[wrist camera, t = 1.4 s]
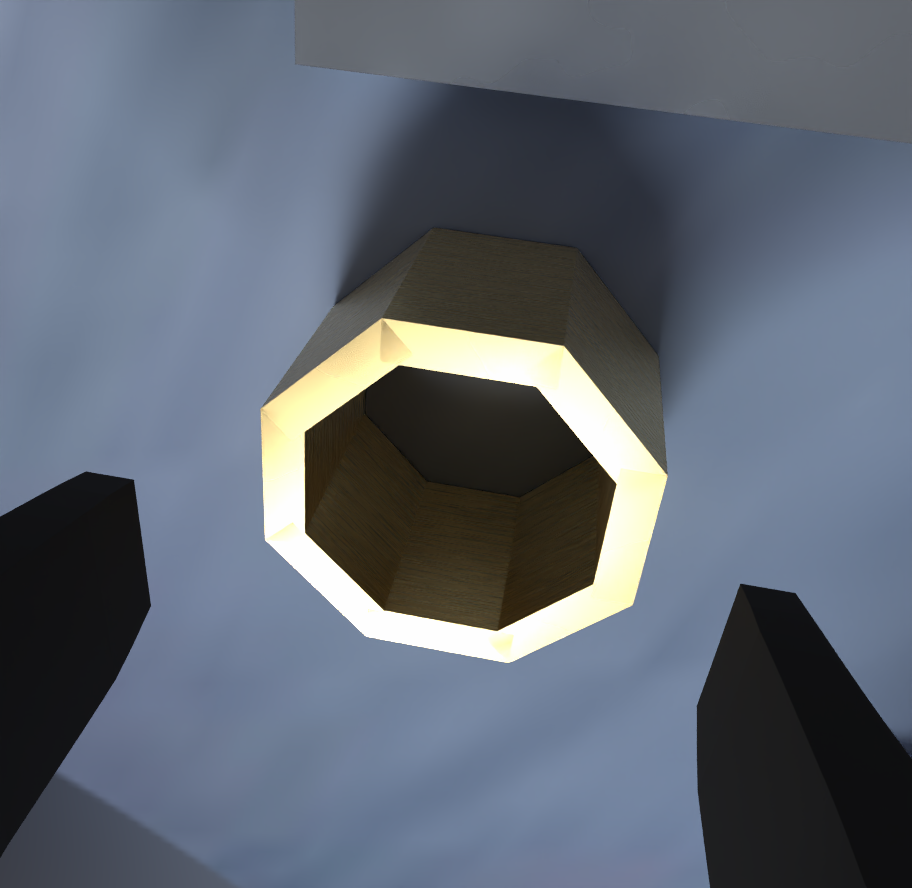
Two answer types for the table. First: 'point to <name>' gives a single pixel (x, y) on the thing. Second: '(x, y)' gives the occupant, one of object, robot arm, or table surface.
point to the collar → (455, 508)
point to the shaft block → (642, 54)
